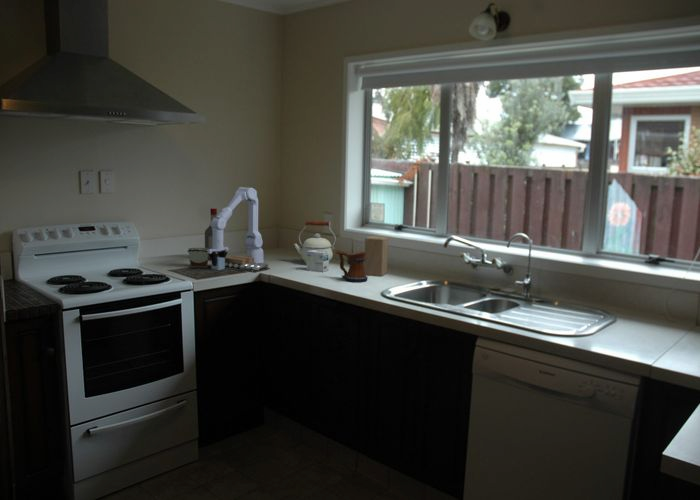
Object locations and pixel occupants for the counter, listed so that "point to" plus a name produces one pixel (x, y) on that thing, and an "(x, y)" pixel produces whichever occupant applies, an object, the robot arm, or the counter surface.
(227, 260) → the slab
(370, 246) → the wooden block
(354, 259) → the mug
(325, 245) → the kettle
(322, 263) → the light bulb box
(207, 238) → the liquor
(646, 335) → the counter surface
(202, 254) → the food container
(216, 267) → the block
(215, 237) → the robot arm
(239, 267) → the roller track
